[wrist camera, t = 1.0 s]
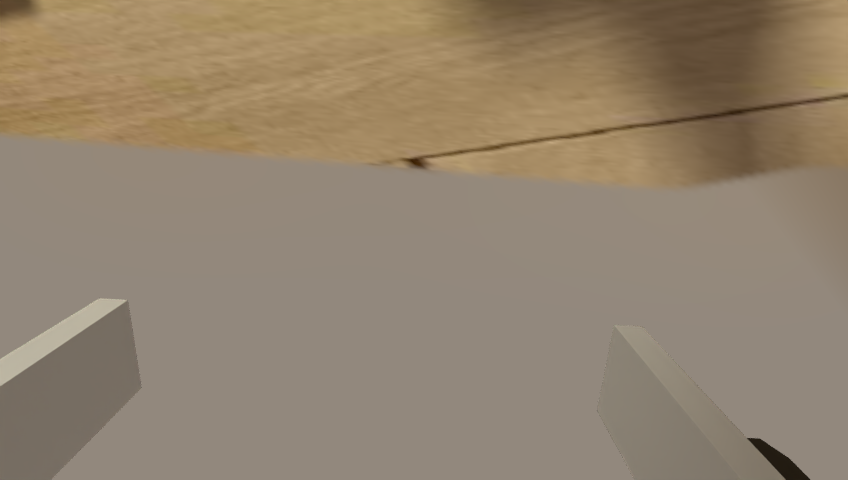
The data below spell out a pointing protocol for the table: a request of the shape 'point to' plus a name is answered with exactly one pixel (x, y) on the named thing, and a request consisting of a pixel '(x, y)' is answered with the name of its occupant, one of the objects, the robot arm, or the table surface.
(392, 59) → the table surface
